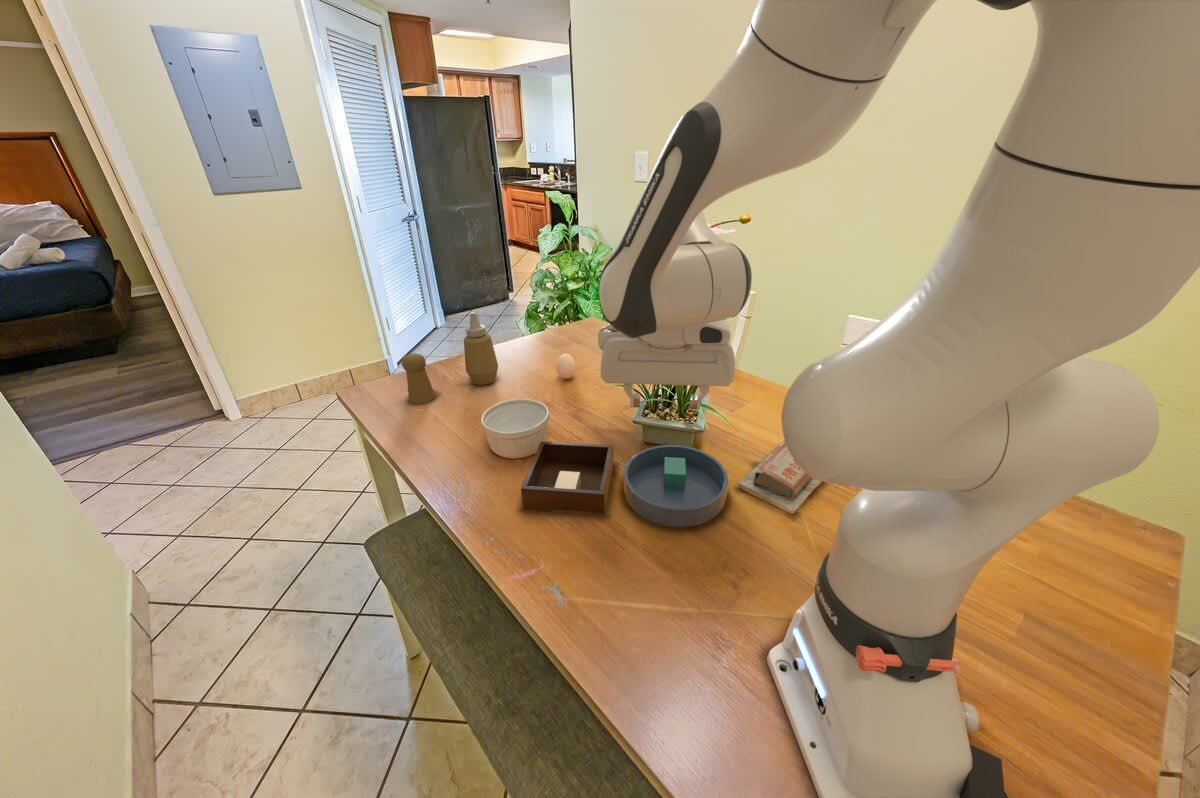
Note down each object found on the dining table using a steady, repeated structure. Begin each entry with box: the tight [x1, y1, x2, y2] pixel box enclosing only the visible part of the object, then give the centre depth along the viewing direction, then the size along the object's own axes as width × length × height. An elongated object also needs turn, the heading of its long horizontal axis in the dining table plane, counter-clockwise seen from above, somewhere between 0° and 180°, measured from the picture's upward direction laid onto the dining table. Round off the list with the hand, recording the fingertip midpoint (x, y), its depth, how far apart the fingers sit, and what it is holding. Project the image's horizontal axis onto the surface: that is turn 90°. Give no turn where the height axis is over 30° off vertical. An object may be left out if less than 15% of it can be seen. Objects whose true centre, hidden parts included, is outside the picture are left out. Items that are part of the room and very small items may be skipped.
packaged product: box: [738, 439, 823, 515], centre depth 83 cm, size 18×5×10 cm
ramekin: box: [480, 398, 550, 460], centre depth 94 cm, size 13×13×7 cm
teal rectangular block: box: [664, 457, 686, 489], centre depth 83 cm, size 5×4×3 cm
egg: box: [556, 353, 577, 380], centre depth 120 cm, size 5×5×7 cm
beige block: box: [554, 471, 581, 489], centre depth 80 cm, size 5×4×3 cm
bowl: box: [623, 444, 729, 528], centre depth 80 cm, size 17×17×4 cm
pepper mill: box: [401, 353, 436, 405], centre depth 112 cm, size 6×6×11 cm
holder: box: [520, 441, 615, 514], centre depth 83 cm, size 14×14×4 cm
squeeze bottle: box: [463, 311, 499, 386], centre depth 117 cm, size 8×8×18 cm
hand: (664, 406), depth 76 cm, fingers open, 8 cm apart
